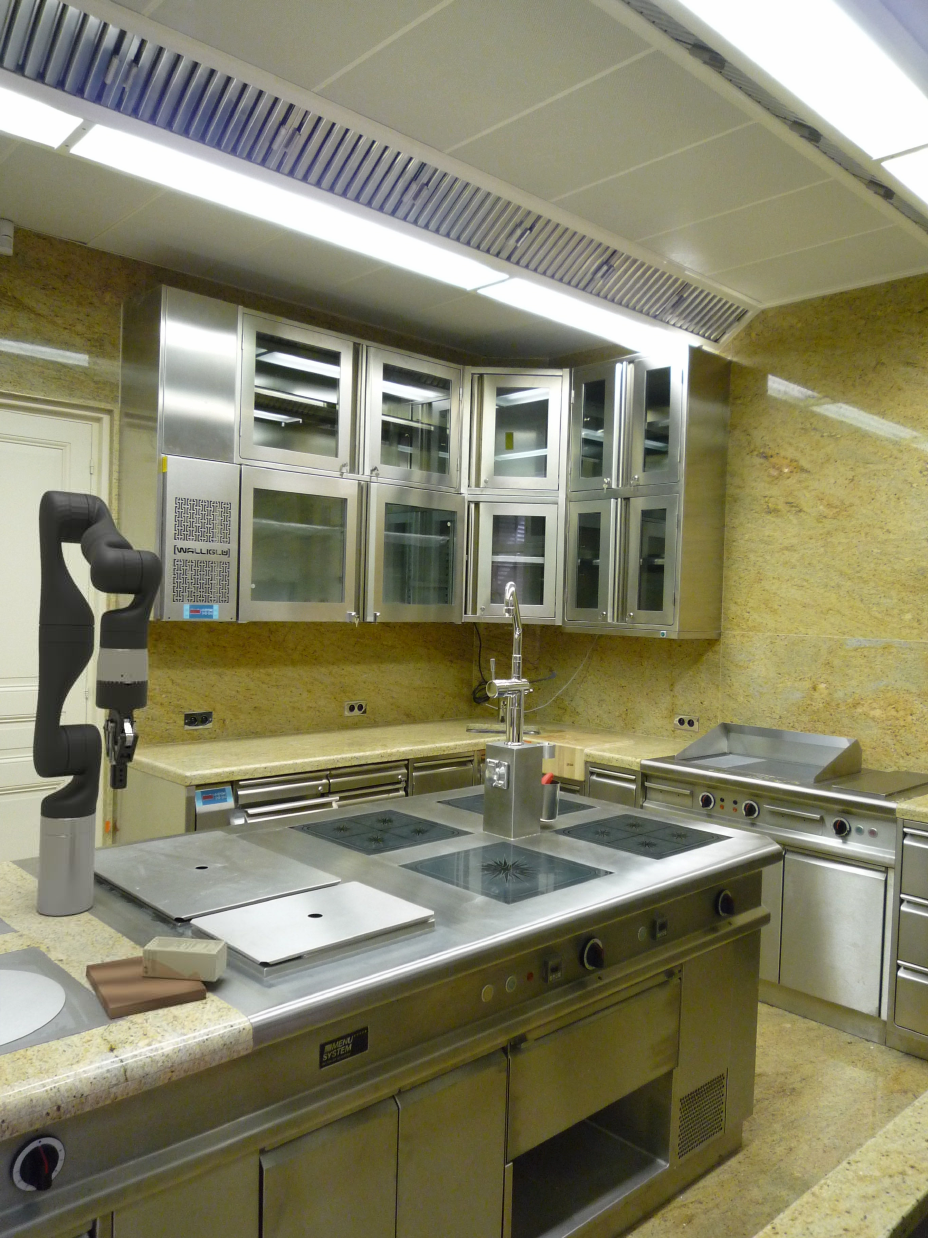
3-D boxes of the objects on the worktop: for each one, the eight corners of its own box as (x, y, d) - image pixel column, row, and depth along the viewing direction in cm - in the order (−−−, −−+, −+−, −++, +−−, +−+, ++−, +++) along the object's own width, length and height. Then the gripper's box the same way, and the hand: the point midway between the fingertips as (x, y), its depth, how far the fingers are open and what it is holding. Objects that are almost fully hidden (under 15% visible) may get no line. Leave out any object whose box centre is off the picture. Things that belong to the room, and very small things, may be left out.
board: (85, 975, 131) (86, 965, 131) (173, 959, 139) (174, 950, 139) (110, 1019, 118) (110, 1008, 118) (205, 998, 125) (206, 988, 125)
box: (140, 977, 128) (214, 983, 127) (141, 947, 128) (215, 954, 127) (156, 963, 133) (227, 969, 132) (157, 934, 133) (228, 940, 132)
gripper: (88, 673, 140) (83, 782, 140) (106, 681, 129) (101, 799, 129) (136, 673, 144) (132, 778, 145) (158, 680, 134) (154, 794, 134)
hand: (118, 788), depth 137 cm, fingers closed
